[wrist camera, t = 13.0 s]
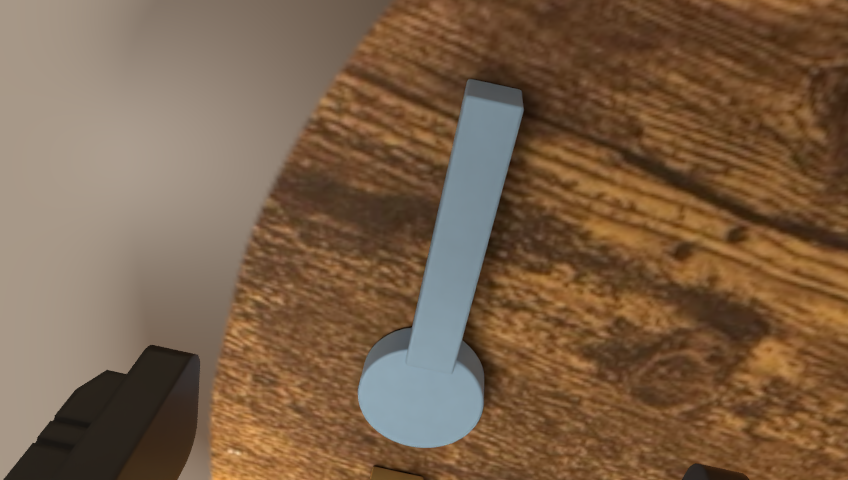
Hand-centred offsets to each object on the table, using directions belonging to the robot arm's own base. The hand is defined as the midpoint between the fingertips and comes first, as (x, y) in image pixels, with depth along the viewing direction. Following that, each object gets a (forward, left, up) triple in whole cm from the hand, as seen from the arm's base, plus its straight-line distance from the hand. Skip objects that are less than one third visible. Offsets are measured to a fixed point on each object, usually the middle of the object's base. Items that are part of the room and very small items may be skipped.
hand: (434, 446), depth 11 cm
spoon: (+1, 0, -9) cm, 9 cm away
